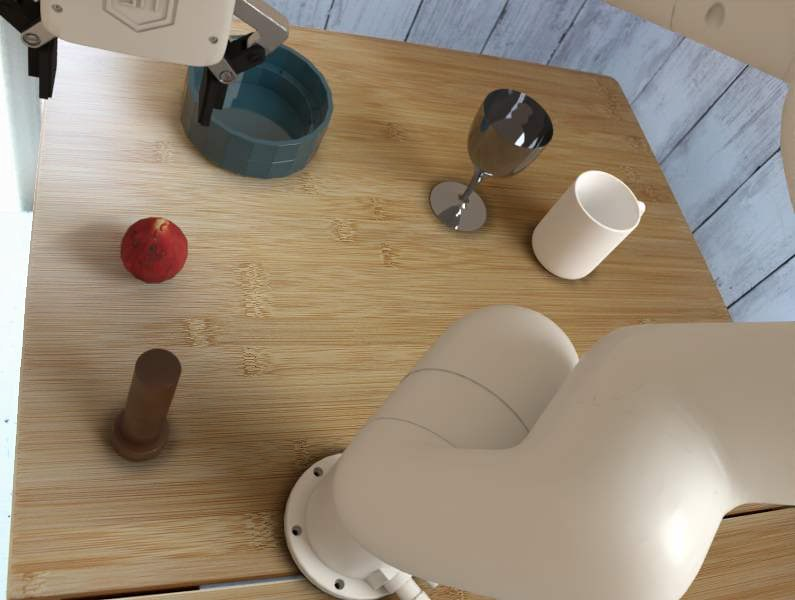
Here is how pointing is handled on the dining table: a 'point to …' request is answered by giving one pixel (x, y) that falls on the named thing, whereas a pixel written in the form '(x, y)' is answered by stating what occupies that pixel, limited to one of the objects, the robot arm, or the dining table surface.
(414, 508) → the robot arm
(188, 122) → the bowl
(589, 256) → the cup
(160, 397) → the pestle
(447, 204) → the wine glass
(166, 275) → the red round fruit
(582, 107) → the dining table surface
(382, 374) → the dining table surface
